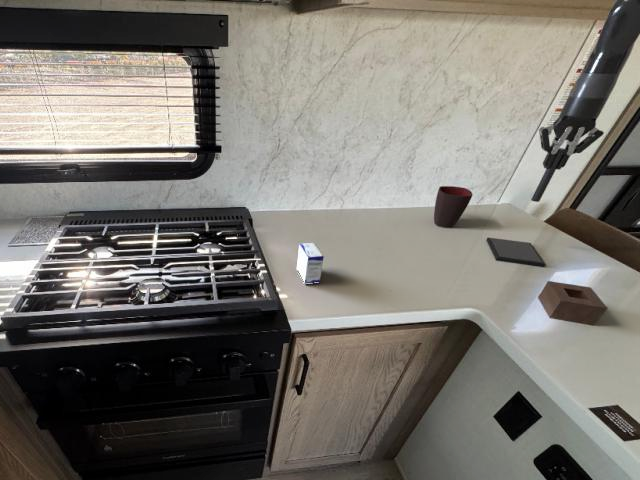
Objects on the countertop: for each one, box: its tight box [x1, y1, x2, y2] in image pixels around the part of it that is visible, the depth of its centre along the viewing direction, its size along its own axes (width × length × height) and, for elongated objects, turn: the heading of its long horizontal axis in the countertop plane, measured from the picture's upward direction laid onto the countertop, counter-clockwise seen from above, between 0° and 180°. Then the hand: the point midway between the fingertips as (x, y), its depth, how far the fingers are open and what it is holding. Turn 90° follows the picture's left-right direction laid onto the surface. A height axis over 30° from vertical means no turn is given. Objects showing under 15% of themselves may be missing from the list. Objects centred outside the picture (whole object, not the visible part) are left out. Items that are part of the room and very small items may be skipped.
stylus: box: [530, 147, 566, 203], centre depth 95 cm, size 2×2×14 cm
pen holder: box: [537, 280, 608, 326], centre depth 81 cm, size 9×9×5 cm
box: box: [296, 242, 325, 286], centre depth 93 cm, size 8×4×9 cm, turn 9°
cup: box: [433, 185, 474, 229], centre depth 121 cm, size 10×14×12 cm
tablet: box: [486, 237, 546, 268], centre depth 105 cm, size 12×14×1 cm
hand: (551, 168), depth 94 cm, fingers closed on stylus, 2 cm apart
